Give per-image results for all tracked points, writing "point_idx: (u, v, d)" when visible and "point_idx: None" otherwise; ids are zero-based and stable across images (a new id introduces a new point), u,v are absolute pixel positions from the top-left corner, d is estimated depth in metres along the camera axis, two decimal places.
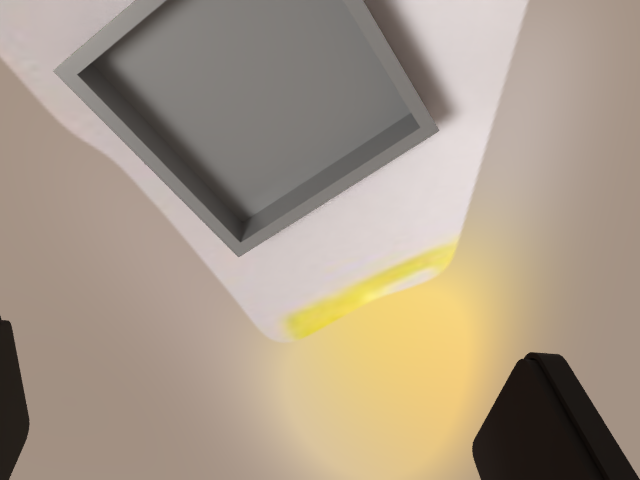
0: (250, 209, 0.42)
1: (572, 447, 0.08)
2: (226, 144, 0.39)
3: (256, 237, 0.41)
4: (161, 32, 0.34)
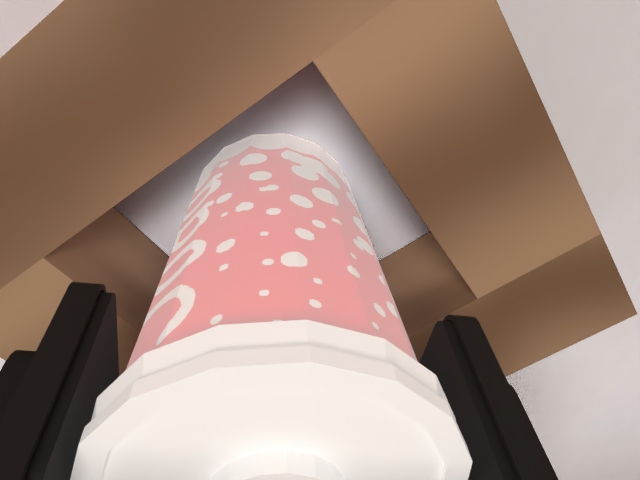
0: None
1: (471, 397, 0.09)
2: None
3: None
4: None
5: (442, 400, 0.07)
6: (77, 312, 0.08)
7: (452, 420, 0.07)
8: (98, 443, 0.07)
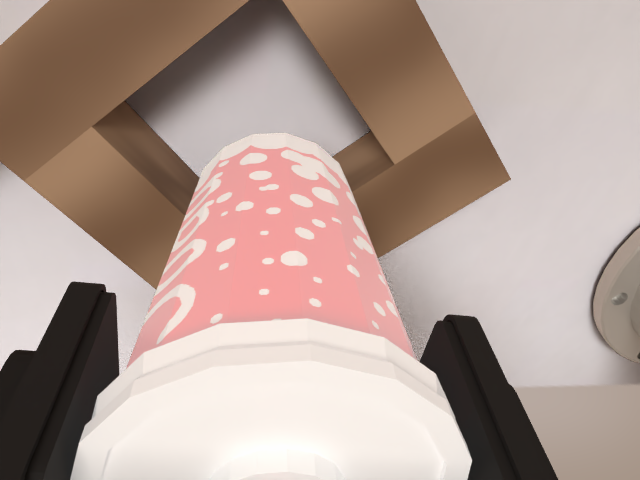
0: None
1: (471, 397, 0.09)
2: None
3: None
4: None
5: (442, 399, 0.07)
6: (77, 312, 0.08)
7: (452, 419, 0.07)
8: (98, 442, 0.07)
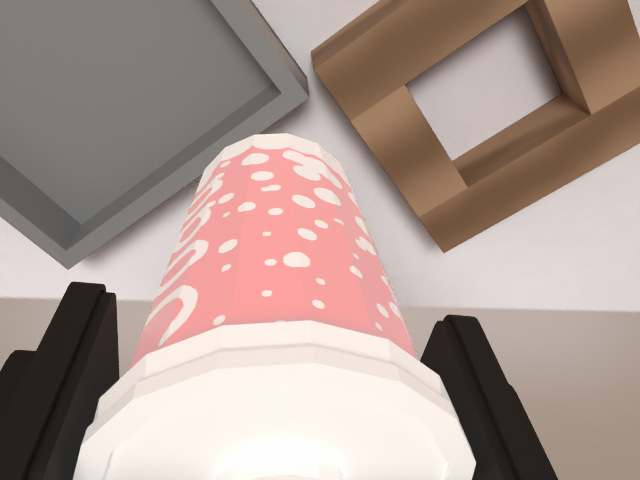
0: None
1: (471, 397, 0.09)
2: None
3: None
4: None
5: (446, 401, 0.07)
6: (77, 312, 0.08)
7: (456, 421, 0.07)
8: (101, 444, 0.07)
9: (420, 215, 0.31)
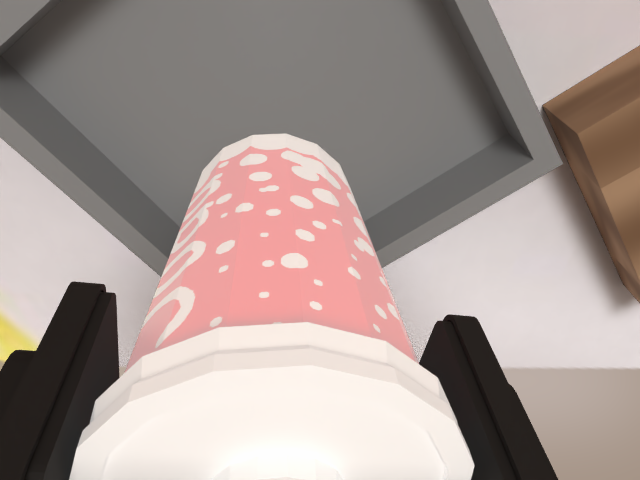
0: (37, 73, 0.22)
1: (471, 397, 0.09)
2: (169, 36, 0.22)
3: None
4: None
5: (444, 403, 0.07)
6: (77, 312, 0.08)
7: (454, 423, 0.07)
8: (96, 447, 0.07)
9: None
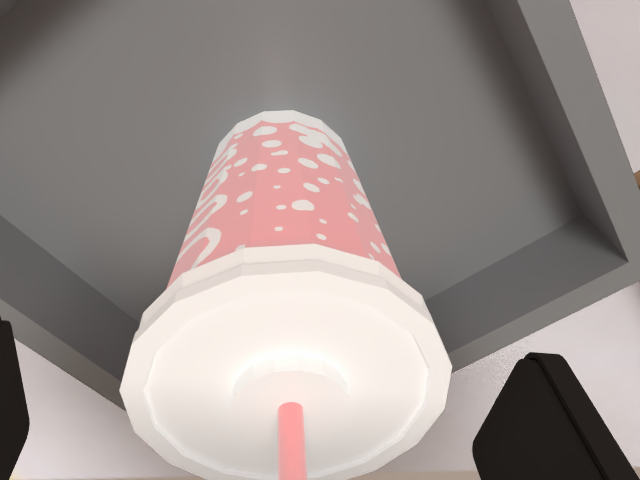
0: None
1: (572, 447, 0.08)
2: (125, 98, 0.15)
3: None
4: None
5: (425, 311, 0.09)
6: None
7: (433, 326, 0.09)
8: (147, 343, 0.09)
9: None
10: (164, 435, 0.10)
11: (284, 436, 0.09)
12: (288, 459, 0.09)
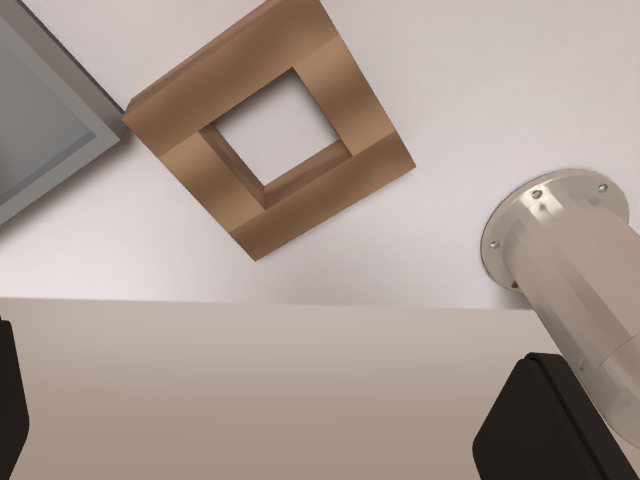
0: None
1: (572, 447, 0.08)
2: None
3: None
4: None
5: None
6: None
7: None
8: None
9: (229, 231, 0.38)
10: None
11: None
12: None
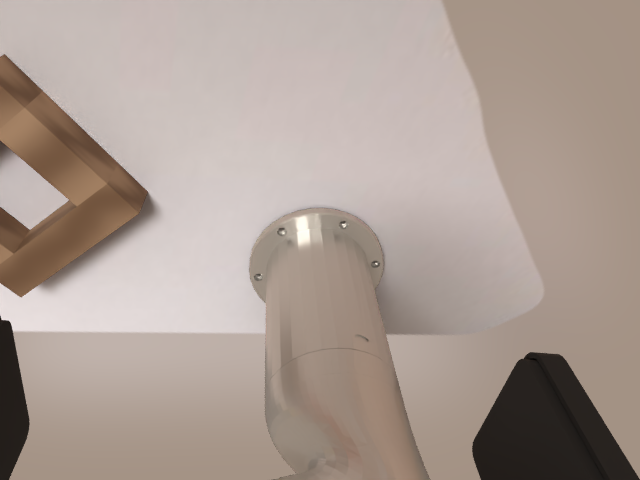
0: None
1: (572, 447, 0.08)
2: None
3: None
4: None
5: None
6: None
7: None
8: None
9: None
10: None
11: None
12: None
